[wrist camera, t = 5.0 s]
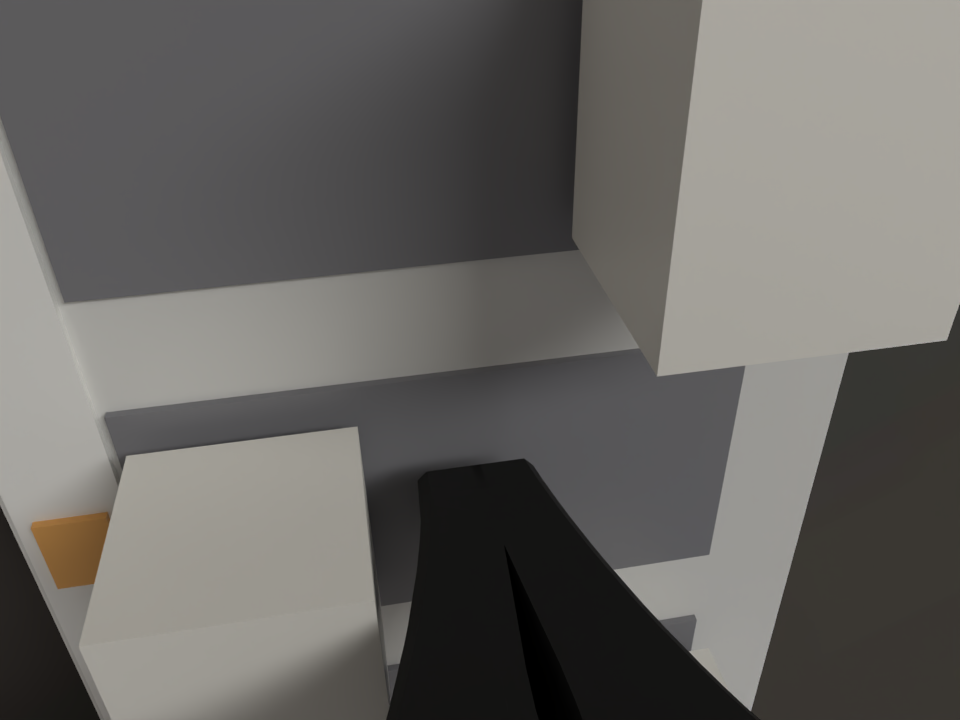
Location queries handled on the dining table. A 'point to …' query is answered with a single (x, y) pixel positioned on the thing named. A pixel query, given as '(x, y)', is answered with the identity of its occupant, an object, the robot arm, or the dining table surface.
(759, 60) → the switch tab near
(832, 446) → the dining table surface
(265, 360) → the panel
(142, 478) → the switch tab mid
